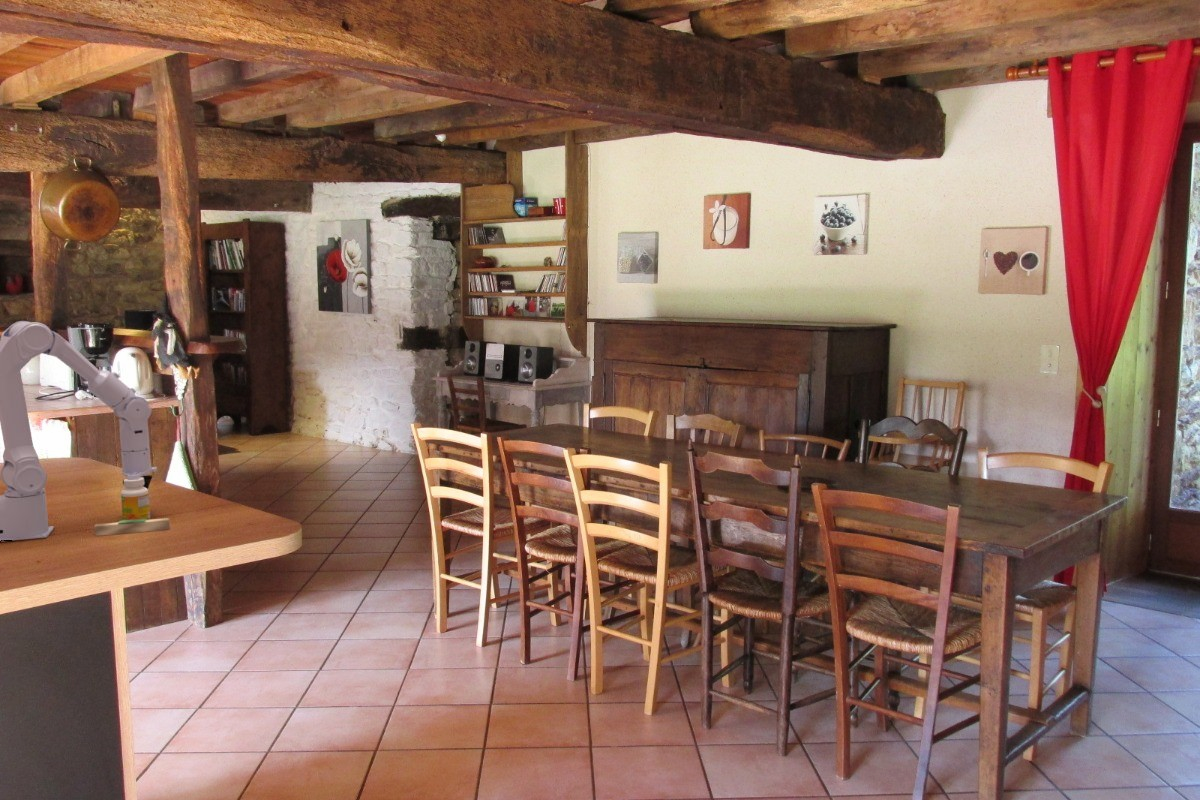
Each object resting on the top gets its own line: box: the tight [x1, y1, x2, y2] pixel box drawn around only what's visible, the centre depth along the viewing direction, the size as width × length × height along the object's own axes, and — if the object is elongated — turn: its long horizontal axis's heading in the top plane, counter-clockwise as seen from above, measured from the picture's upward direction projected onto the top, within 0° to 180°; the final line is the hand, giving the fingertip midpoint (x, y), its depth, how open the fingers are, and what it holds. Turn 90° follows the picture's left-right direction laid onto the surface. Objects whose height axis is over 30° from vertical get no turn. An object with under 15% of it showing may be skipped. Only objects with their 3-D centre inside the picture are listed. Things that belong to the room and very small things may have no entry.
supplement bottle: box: [120, 477, 151, 521], centre depth 210 cm, size 5×5×10 cm
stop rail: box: [93, 517, 171, 537], centre depth 204 cm, size 14×2×2 cm, turn 109°
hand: (139, 509), depth 217 cm, fingers closed
